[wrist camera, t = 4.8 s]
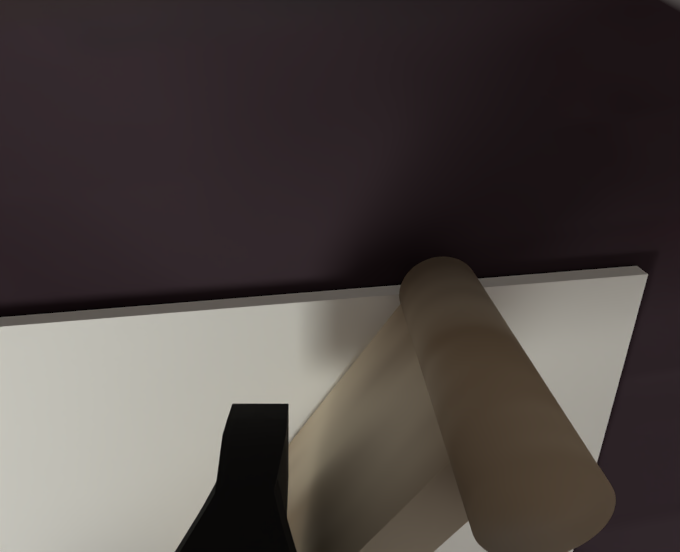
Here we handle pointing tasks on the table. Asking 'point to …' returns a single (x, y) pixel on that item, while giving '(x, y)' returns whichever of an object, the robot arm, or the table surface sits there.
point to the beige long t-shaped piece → (443, 438)
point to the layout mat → (238, 394)
